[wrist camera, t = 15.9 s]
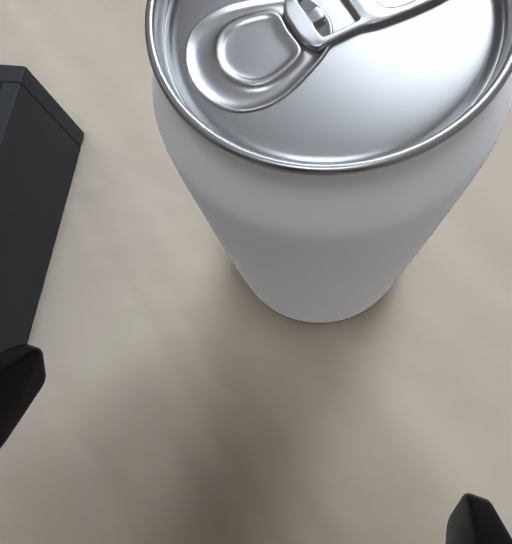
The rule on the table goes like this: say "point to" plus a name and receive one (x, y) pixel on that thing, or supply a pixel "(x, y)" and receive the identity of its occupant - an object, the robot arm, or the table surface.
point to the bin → (29, 193)
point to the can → (328, 132)
